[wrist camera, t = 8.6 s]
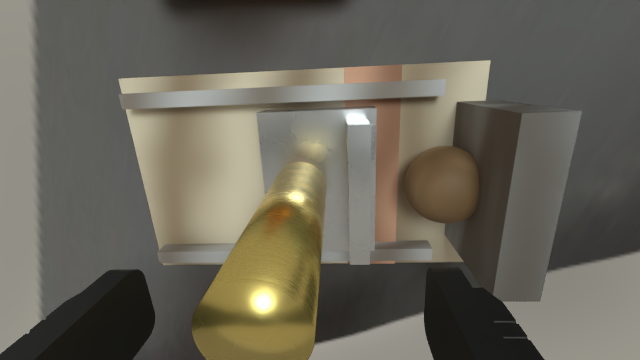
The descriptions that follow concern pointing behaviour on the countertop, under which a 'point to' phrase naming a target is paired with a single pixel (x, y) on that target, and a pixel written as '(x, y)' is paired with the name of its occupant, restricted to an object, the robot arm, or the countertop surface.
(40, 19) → the countertop surface
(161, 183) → the board
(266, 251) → the handle
